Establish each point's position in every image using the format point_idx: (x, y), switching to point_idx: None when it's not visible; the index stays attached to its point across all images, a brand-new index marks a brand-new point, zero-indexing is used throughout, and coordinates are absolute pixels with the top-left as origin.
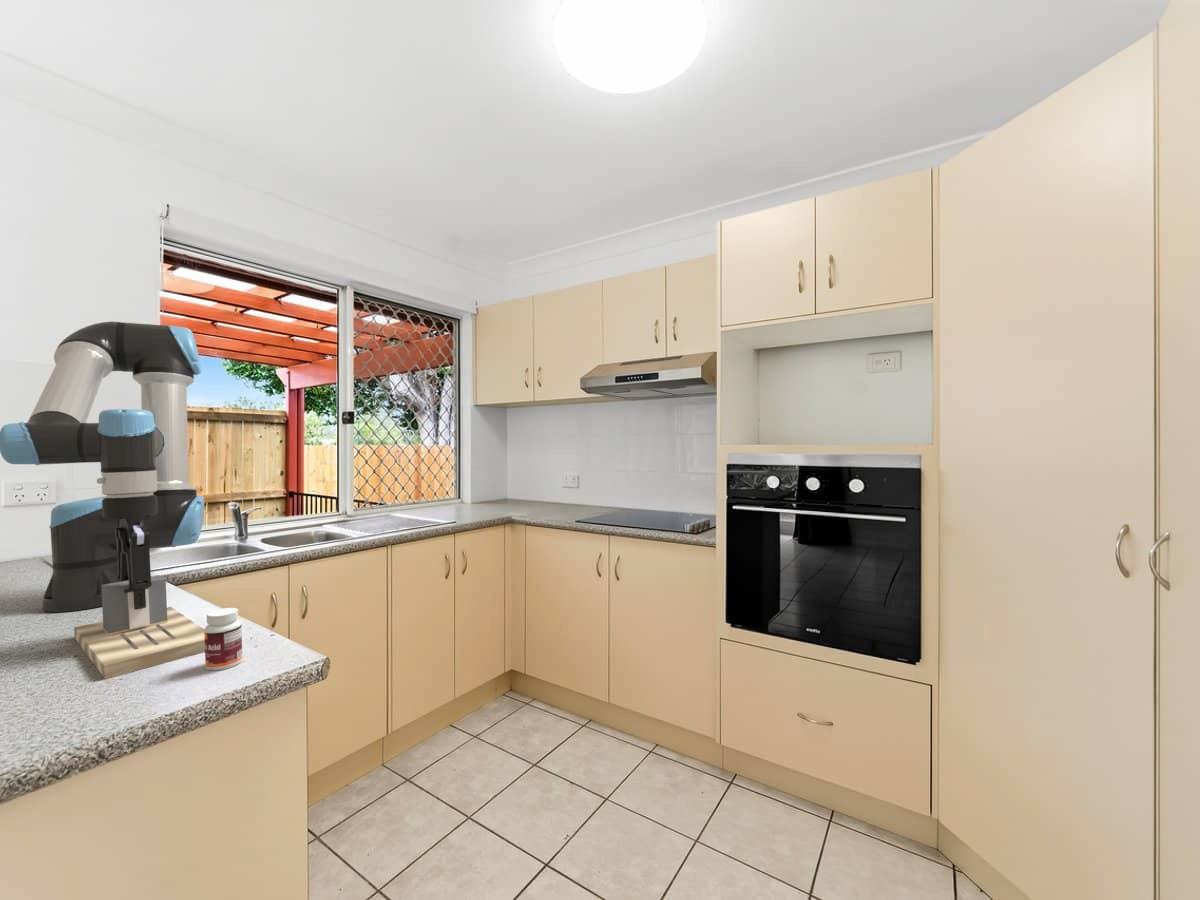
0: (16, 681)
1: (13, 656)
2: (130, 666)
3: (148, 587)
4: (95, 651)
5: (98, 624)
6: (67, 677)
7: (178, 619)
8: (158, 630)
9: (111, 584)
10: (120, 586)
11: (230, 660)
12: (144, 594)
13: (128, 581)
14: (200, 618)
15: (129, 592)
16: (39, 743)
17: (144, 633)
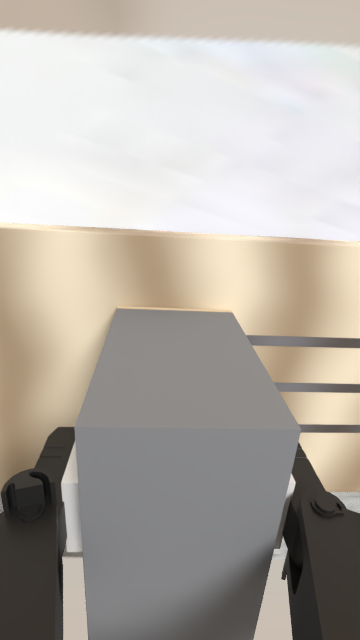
0: (277, 553)
1: (68, 552)
2: None
3: (336, 498)
4: (337, 488)
5: (23, 450)
6: (353, 503)
7: (222, 270)
8: (306, 353)
9: (131, 621)
10: (249, 603)
11: None
12: (317, 482)
13: (132, 568)
14: (114, 149)
15: (279, 542)
16: None
17: (296, 387)
